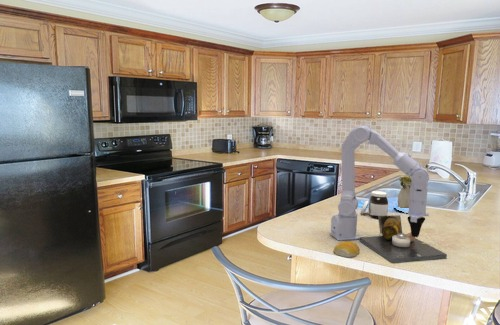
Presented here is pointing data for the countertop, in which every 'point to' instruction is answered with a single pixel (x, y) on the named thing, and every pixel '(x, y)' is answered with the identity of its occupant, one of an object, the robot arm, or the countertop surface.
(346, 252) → the bread roll
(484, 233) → the countertop surface
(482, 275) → the countertop surface
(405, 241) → the collar
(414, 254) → the base
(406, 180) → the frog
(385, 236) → the condiment
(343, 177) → the robot arm
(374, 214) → the spread jar
